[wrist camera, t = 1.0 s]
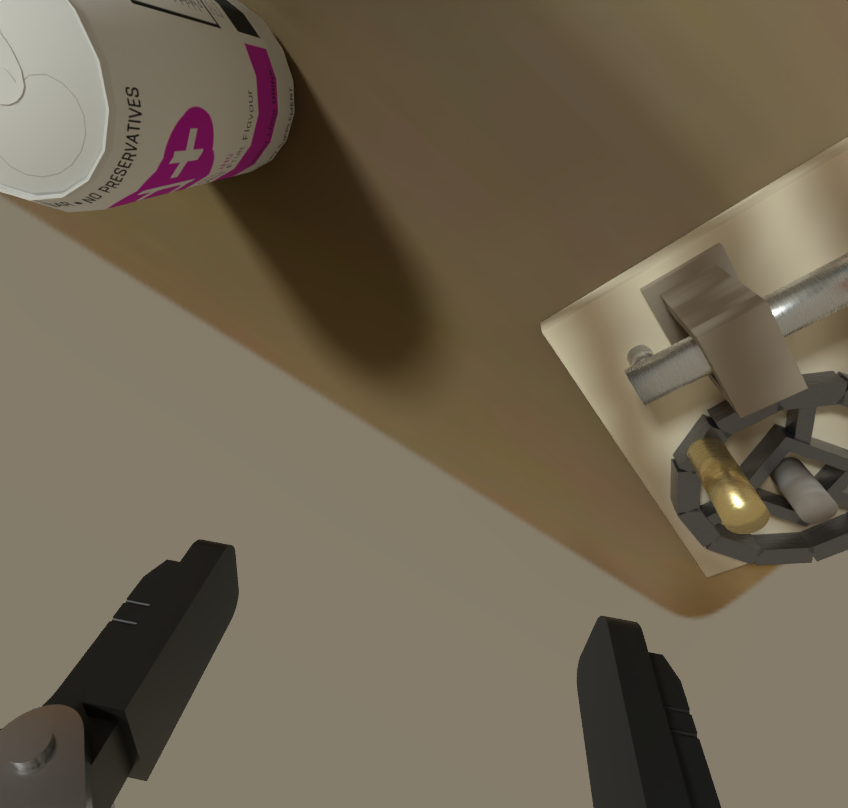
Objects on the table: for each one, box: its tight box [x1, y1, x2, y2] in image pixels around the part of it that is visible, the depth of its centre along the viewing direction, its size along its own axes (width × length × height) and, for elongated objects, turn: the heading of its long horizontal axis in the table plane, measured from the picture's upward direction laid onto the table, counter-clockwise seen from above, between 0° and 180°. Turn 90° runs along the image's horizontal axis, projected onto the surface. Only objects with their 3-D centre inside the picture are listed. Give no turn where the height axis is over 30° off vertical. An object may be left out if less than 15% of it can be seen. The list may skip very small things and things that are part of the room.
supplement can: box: [0, 0, 295, 212], centre depth 22 cm, size 8×8×15 cm
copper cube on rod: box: [624, 253, 848, 406], centre depth 24 cm, size 18×4×8 cm, turn 127°
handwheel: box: [670, 371, 848, 565], centre depth 30 cm, size 14×14×8 cm
